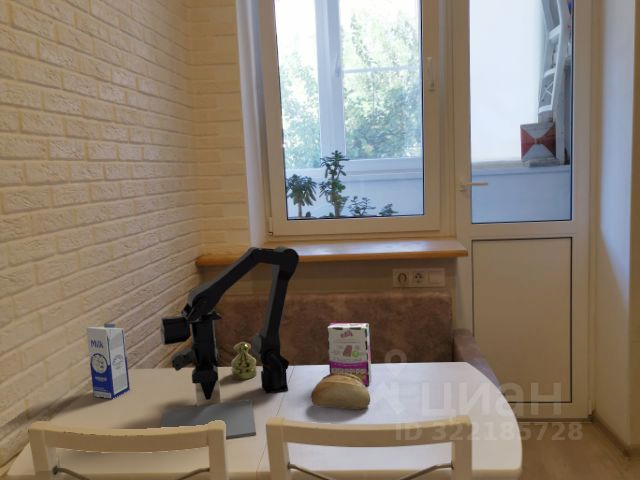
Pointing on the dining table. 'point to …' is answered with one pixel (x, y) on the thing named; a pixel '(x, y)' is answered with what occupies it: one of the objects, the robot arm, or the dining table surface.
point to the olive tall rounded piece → (243, 362)
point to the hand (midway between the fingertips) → (208, 395)
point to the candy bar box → (350, 349)
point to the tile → (201, 397)
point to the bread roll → (341, 392)
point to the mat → (215, 417)
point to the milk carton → (108, 360)
